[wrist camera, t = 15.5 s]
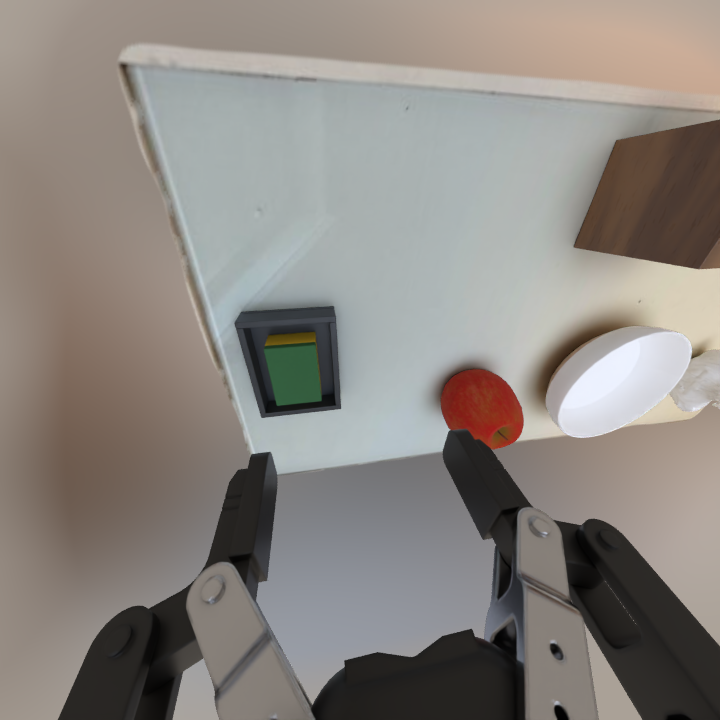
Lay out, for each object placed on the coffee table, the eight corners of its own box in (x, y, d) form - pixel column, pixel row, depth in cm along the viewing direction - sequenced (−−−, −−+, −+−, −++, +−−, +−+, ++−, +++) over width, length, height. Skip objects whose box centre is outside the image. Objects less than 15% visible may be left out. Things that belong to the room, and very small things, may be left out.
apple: (435, 419, 43) (466, 474, 35) (431, 371, 38) (468, 423, 29) (492, 402, 44) (538, 453, 35) (497, 353, 38) (553, 398, 29)
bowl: (544, 328, 37) (582, 348, 32) (667, 301, 38) (723, 317, 33) (518, 422, 47) (543, 449, 42) (615, 399, 49) (651, 423, 43)
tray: (241, 311, 29) (234, 322, 26) (333, 306, 30) (335, 316, 28) (264, 402, 36) (261, 418, 33) (339, 394, 37) (341, 409, 35)
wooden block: (573, 247, 31) (698, 269, 21) (616, 140, 26) (811, 101, 16) (655, 244, 33) (808, 263, 23) (712, 143, 27) (944, 109, 17)
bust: (687, 336, 46) (729, 362, 37) (748, 349, 43) (808, 380, 34) (642, 389, 52) (668, 422, 43) (692, 403, 49) (731, 442, 40)
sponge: (268, 334, 30) (263, 349, 27) (315, 331, 31) (315, 345, 28) (279, 388, 34) (276, 406, 31) (320, 384, 35) (321, 401, 32)
